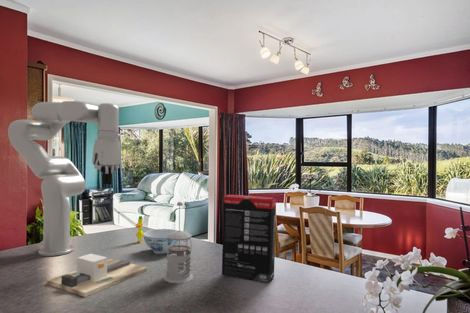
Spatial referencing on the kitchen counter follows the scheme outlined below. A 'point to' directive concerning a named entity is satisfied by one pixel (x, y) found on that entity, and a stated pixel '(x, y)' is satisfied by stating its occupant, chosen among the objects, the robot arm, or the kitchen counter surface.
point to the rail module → (92, 266)
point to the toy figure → (139, 226)
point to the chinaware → (159, 240)
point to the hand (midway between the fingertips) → (107, 183)
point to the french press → (178, 257)
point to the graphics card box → (249, 237)
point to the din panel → (85, 287)
